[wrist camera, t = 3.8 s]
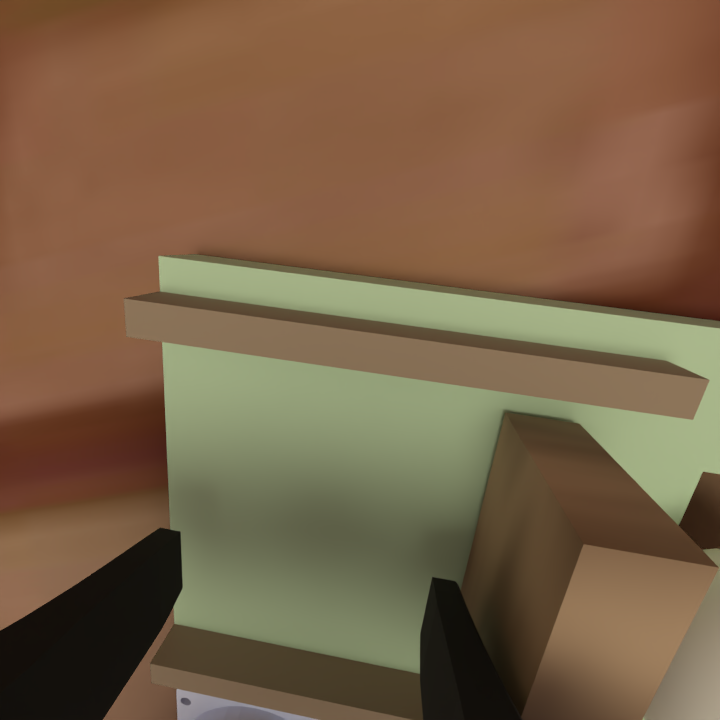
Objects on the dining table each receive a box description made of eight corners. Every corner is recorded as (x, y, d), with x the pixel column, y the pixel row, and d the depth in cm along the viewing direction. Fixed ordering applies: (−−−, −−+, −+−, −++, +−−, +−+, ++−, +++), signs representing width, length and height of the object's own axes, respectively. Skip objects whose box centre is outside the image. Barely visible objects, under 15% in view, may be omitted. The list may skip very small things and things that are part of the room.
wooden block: (497, 678, 13) (547, 908, 9) (441, 666, 14) (459, 886, 9) (579, 423, 10) (719, 567, 6) (505, 412, 11) (583, 544, 6)
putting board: (812, 738, 16) (923, 872, 12) (200, 614, 17) (152, 702, 14) (1080, 367, 11) (1385, 422, 7) (195, 254, 13) (120, 257, 9)
